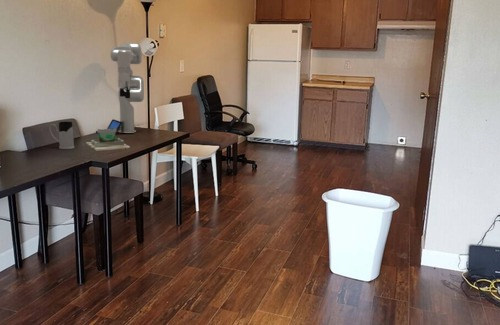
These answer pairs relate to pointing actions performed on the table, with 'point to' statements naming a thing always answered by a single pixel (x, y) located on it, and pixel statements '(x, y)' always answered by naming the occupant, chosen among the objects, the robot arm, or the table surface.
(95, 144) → the stand
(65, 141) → the grey pitcher
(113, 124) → the game console
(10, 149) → the table surface
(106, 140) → the food container
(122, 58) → the robot arm
